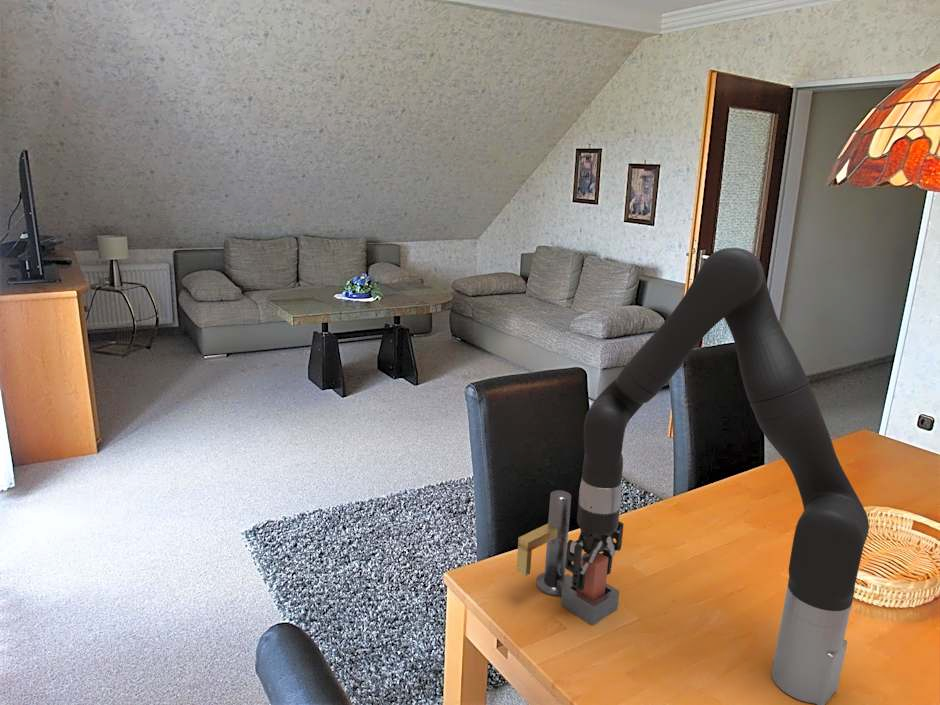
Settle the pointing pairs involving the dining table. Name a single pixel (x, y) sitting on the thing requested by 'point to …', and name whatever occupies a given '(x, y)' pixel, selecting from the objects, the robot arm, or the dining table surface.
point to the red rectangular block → (595, 577)
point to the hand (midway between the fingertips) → (591, 580)
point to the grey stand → (561, 564)
